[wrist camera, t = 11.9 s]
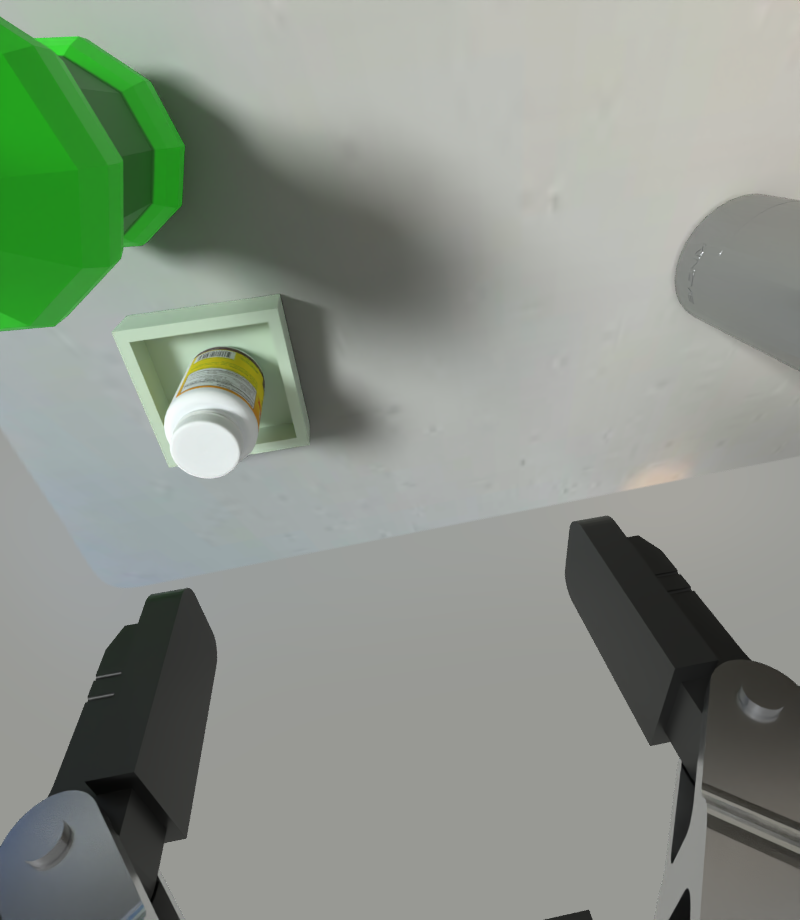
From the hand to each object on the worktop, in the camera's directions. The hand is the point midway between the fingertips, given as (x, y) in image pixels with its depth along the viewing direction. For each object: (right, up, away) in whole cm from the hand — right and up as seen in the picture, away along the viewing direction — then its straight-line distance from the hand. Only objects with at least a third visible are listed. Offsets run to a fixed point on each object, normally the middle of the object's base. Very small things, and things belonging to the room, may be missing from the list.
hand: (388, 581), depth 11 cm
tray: (-13, +9, +28) cm, 32 cm away
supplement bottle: (-13, +9, +28) cm, 32 cm away
